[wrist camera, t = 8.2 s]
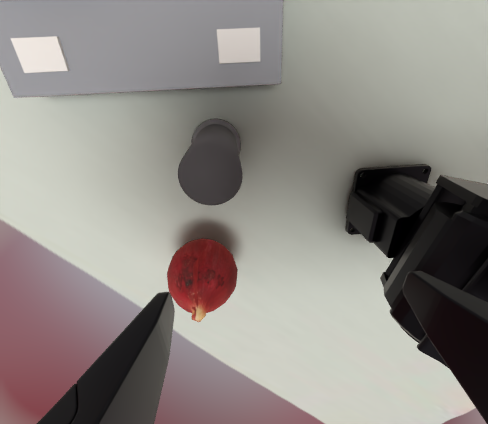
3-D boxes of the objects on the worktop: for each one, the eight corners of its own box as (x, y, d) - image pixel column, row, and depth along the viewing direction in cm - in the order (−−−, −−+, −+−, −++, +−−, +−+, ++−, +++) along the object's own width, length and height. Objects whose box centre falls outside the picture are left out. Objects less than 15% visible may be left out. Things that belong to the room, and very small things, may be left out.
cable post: (238, 117, 18) (246, 135, 11) (241, 165, 20) (249, 207, 13) (189, 120, 18) (164, 140, 11) (196, 168, 20) (178, 212, 13)
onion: (166, 232, 22) (138, 298, 15) (224, 215, 22) (223, 275, 15) (190, 277, 25) (175, 351, 18) (242, 262, 25) (249, 332, 18)
